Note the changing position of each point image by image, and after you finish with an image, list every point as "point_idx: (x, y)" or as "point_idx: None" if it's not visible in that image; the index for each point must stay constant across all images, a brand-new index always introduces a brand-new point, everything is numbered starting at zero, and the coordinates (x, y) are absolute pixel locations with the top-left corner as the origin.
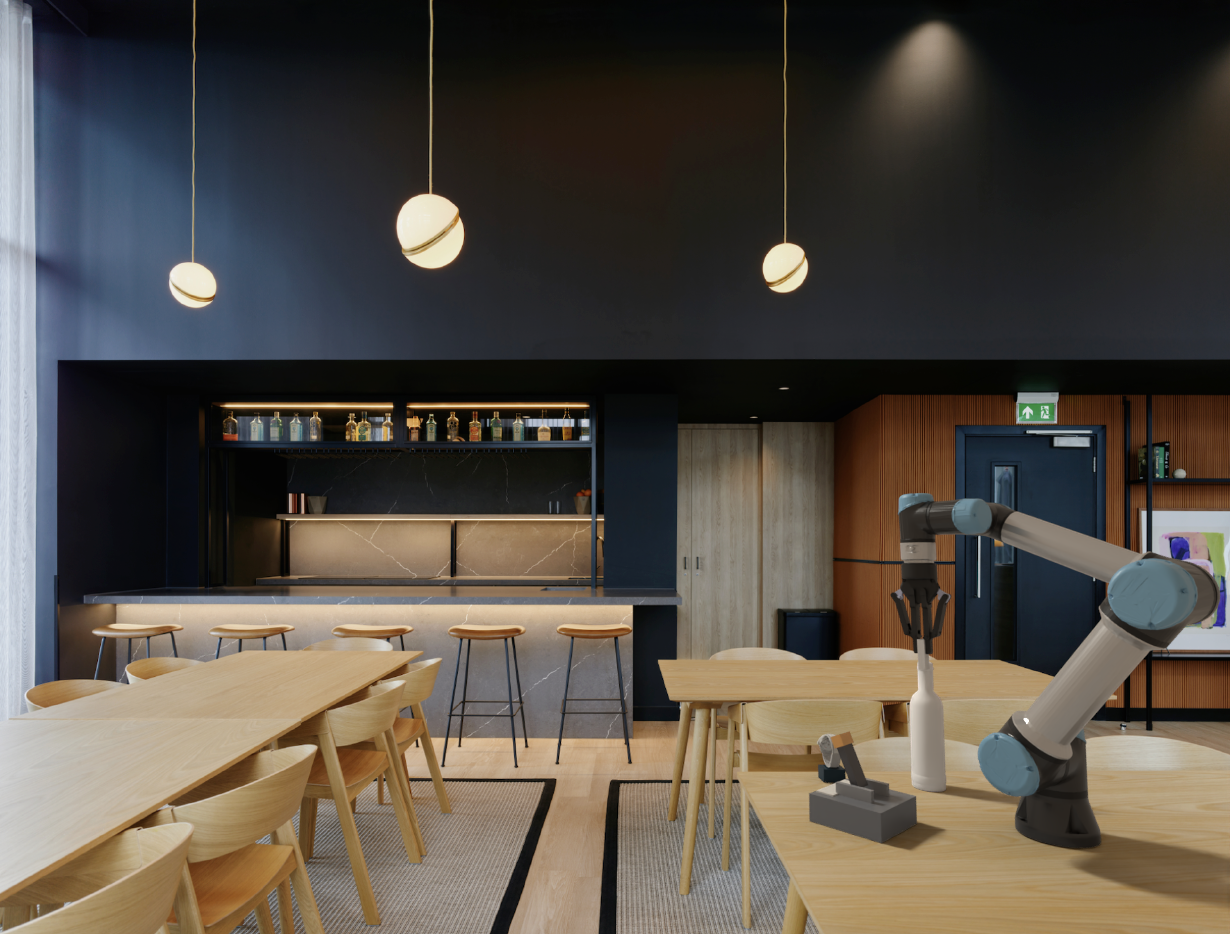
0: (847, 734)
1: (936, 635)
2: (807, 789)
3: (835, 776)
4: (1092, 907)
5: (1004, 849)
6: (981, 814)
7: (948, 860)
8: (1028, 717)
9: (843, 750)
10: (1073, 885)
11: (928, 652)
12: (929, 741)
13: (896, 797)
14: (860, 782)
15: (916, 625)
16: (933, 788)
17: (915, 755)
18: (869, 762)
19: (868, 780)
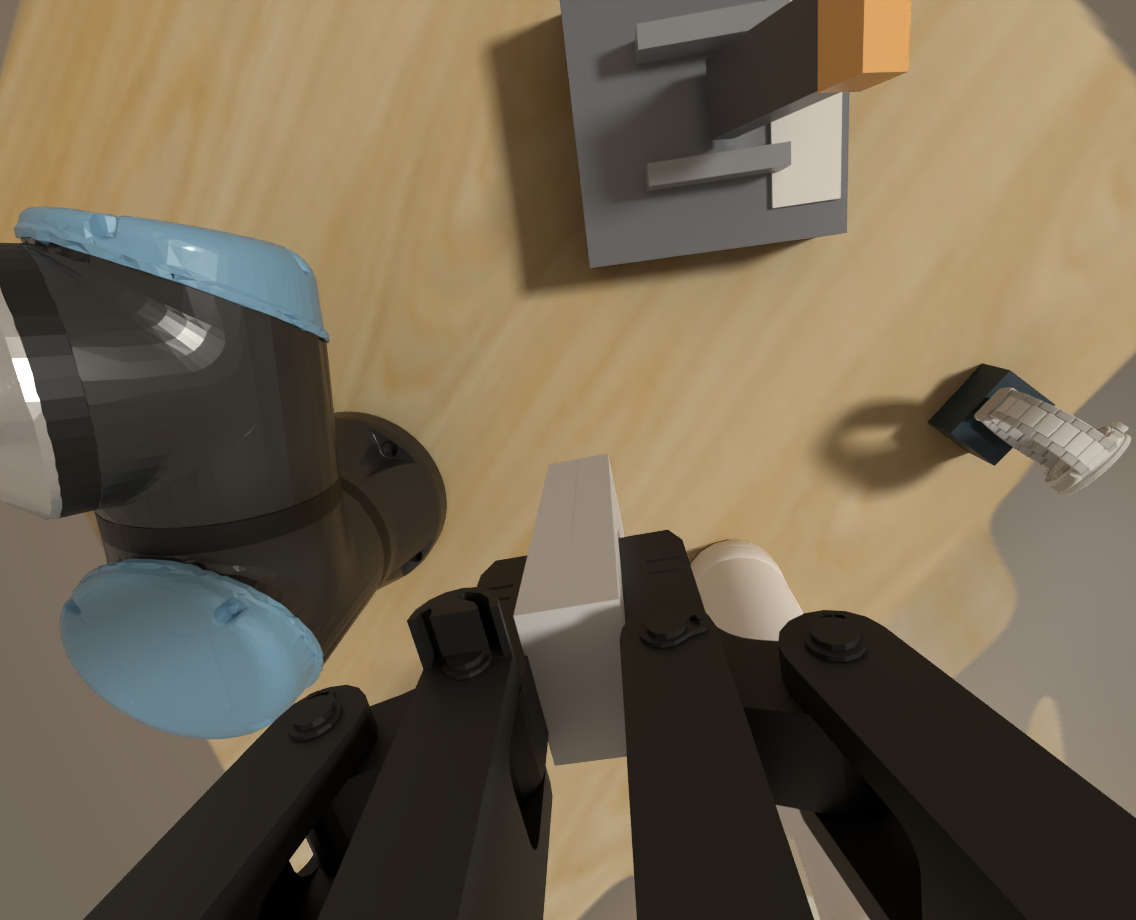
0: (853, 38)
1: (295, 707)
2: (988, 251)
3: (963, 400)
4: (76, 112)
5: (365, 290)
6: (532, 485)
7: (390, 75)
8: None
9: None
10: (166, 206)
11: (509, 569)
12: (735, 628)
13: (619, 192)
14: (717, 82)
15: (634, 799)
16: (702, 554)
17: (772, 589)
18: (969, 653)
19: (719, 153)
